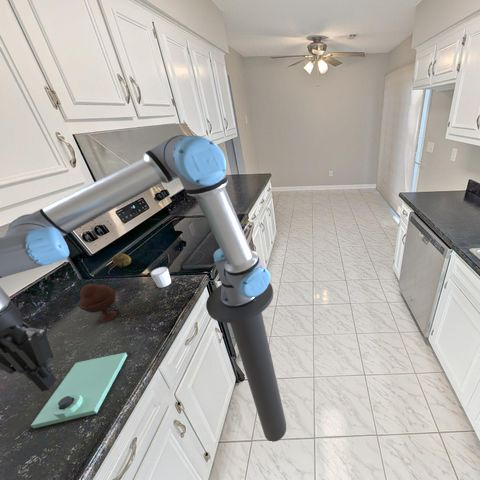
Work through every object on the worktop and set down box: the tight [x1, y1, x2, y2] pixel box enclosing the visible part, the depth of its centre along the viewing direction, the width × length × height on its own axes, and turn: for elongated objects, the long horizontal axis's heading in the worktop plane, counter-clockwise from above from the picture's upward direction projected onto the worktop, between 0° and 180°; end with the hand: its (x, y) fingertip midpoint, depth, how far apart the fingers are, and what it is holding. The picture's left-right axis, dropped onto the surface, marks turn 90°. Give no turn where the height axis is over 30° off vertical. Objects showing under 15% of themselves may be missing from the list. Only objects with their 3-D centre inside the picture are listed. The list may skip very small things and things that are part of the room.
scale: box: [30, 351, 128, 429], centre depth 71 cm, size 14×18×3 cm
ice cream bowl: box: [77, 283, 118, 323], centre depth 94 cm, size 11×11×15 cm
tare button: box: [58, 396, 73, 409], centre depth 65 cm, size 2×2×2 cm
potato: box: [111, 253, 132, 268], centre depth 129 cm, size 8×13×8 cm, turn 23°
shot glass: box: [149, 266, 172, 289], centre depth 113 cm, size 7×7×7 cm
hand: (49, 385), depth 61 cm, fingers closed
